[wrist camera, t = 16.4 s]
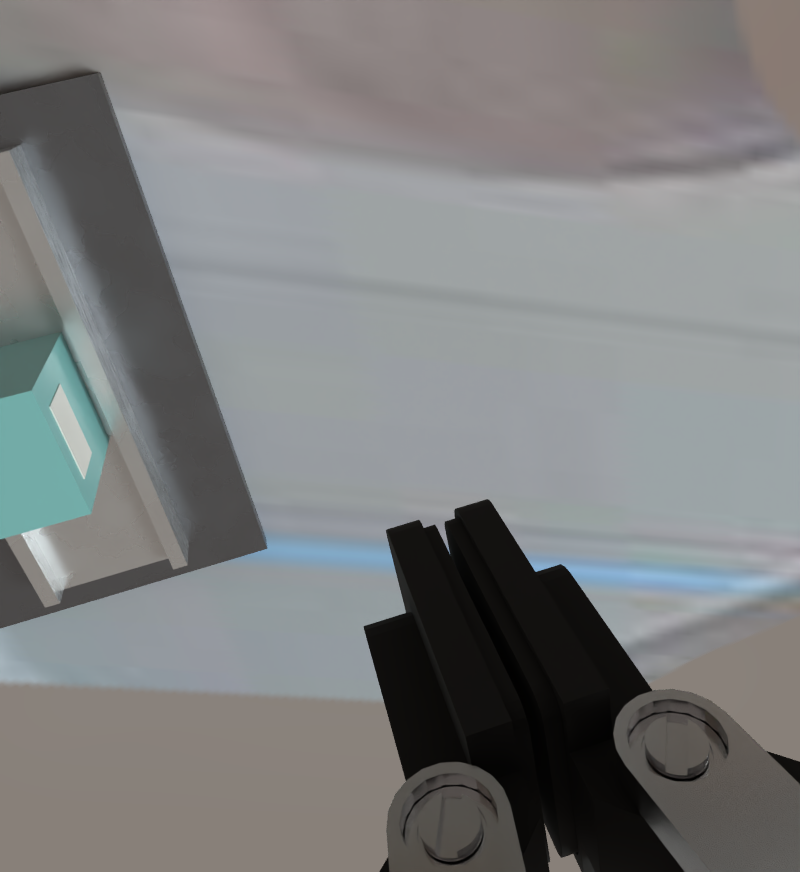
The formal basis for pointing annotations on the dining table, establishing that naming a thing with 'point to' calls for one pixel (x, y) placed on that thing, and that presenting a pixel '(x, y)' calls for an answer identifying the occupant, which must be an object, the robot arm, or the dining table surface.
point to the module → (46, 437)
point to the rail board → (109, 361)
